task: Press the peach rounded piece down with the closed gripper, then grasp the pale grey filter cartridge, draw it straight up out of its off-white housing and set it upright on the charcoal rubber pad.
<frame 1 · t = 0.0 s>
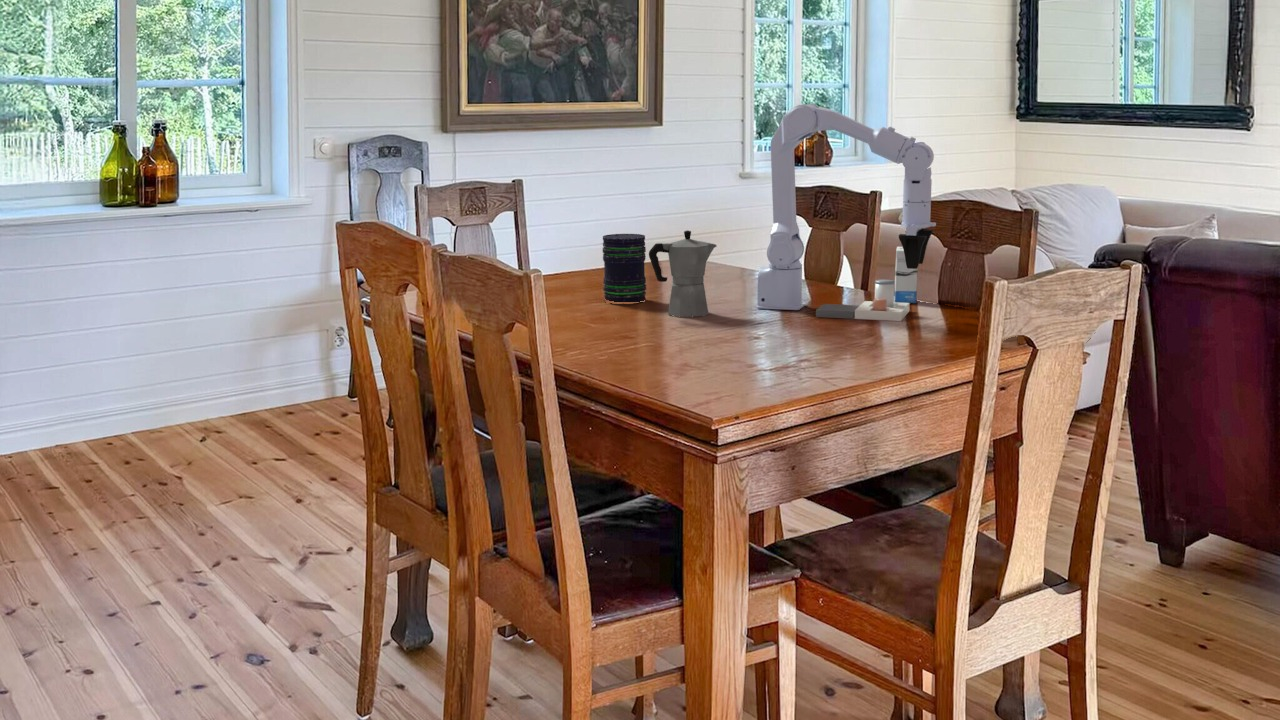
hand: (914, 266, 269), 10 cm above the table, fingers open, 7 cm apart
coffeepot: (683, 315, 274), on the table
cartridge: (883, 313, 272), resting in filter housing
peach rounded piece: (879, 307, 266), point 2 cm above the table, slide at 0.0 cm
storage jar: (625, 302, 292), on the table
ink box: (905, 301, 288), on the table
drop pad: (838, 314, 271), on the table
filter housing: (882, 314, 270), on the table
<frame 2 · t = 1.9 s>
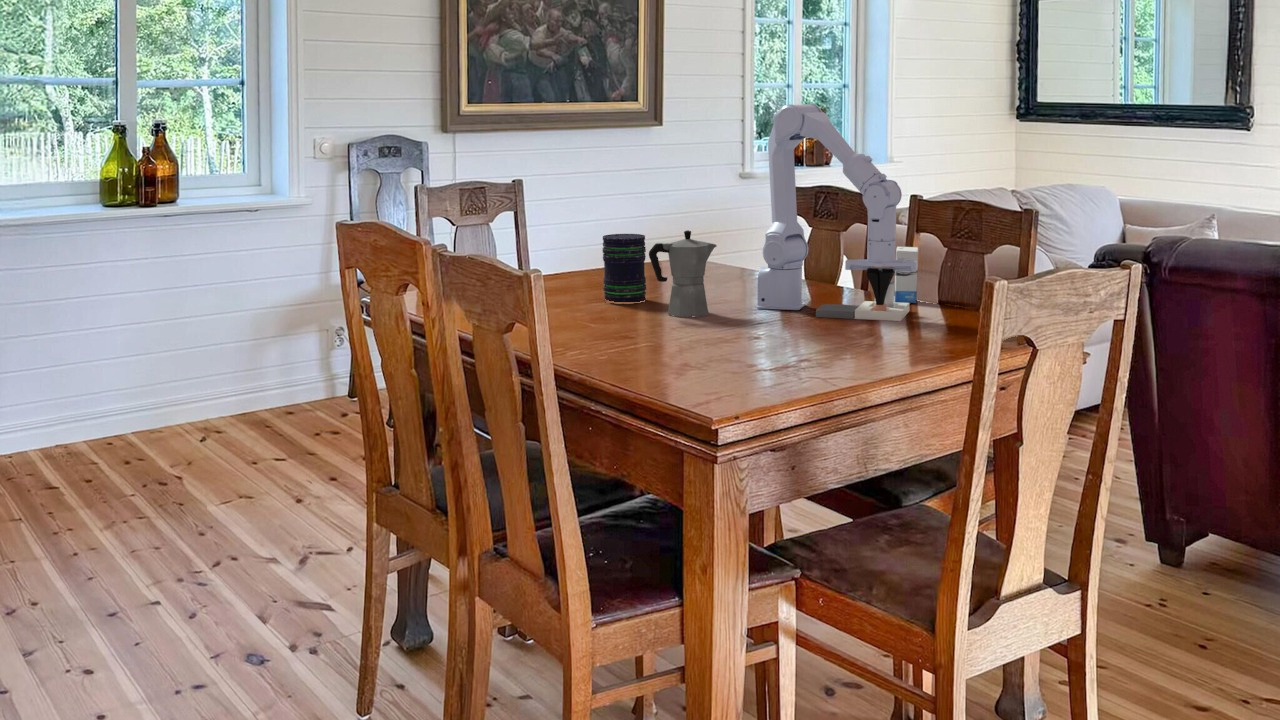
hand: (880, 304, 266), 3 cm above the table, fingers closed, pressing on peach rounded piece
peach rounded piece: (879, 311, 266), point 1 cm above the table, slide at 0.9 cm, touching gripper
everything else where it was.
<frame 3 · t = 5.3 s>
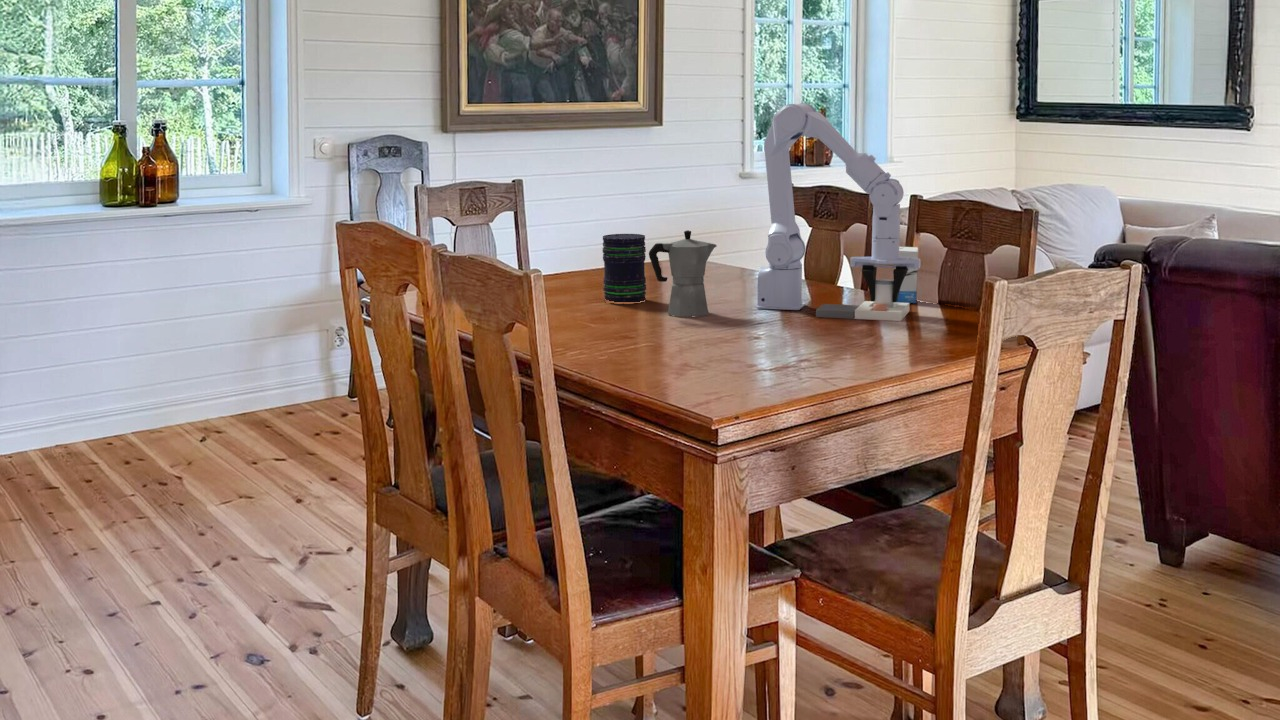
hand: (884, 301, 271), 3 cm above the table, fingers closed on cartridge, 4 cm apart
cartridge: (883, 313, 272), resting in filter housing, touching gripper
peach rounded piece: (879, 311, 266), point 1 cm above the table, slide at 0.8 cm
everything else where it was.
when the fingers open (5 cm above the table, at t = 8.9 s): cartridge stays where it is, resting on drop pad.
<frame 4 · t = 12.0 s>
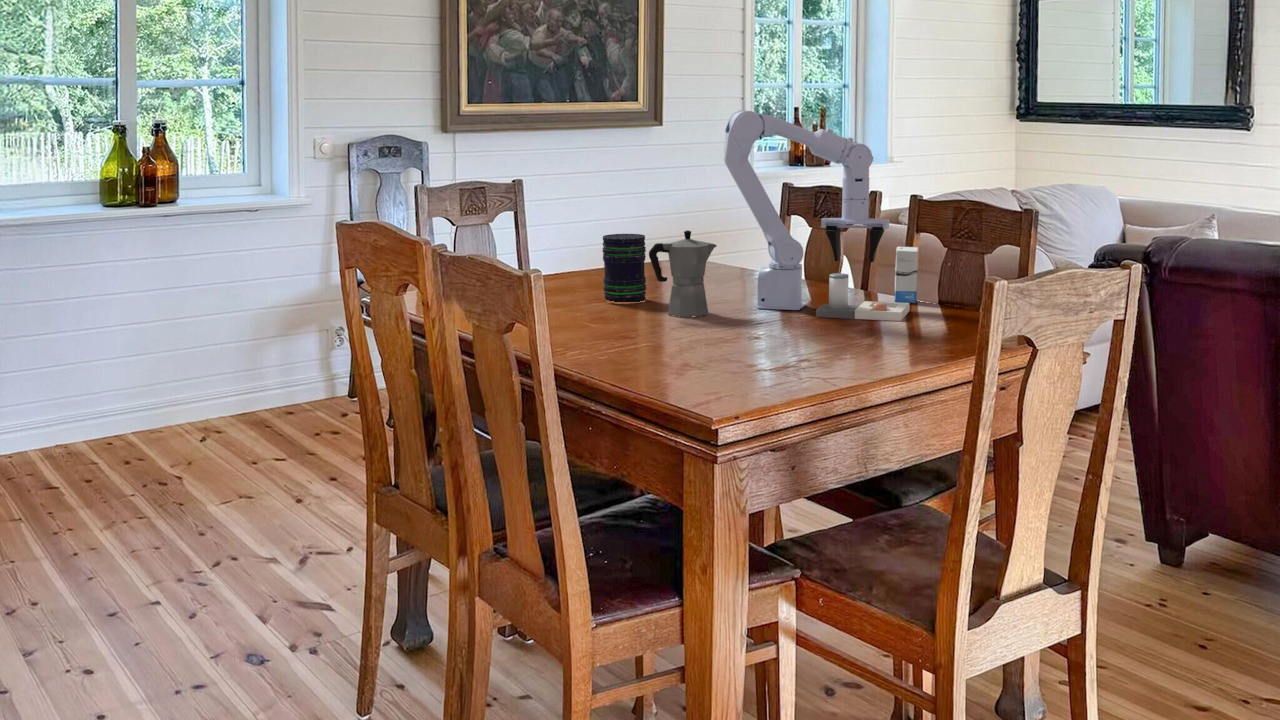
hand: (854, 261, 280), 10 cm above the table, fingers open, 7 cm apart
cartridge: (838, 307, 271), point 2 cm above the table, touching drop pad
everything else where it was.
at the end: peach rounded piece slide at 0.8 cm; cartridge 0.1 cm off-centre on the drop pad, point 1.5 cm above the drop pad's base; cartridge tilted 1° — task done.
